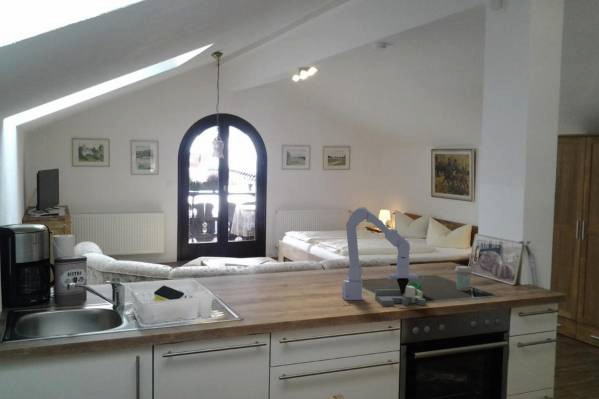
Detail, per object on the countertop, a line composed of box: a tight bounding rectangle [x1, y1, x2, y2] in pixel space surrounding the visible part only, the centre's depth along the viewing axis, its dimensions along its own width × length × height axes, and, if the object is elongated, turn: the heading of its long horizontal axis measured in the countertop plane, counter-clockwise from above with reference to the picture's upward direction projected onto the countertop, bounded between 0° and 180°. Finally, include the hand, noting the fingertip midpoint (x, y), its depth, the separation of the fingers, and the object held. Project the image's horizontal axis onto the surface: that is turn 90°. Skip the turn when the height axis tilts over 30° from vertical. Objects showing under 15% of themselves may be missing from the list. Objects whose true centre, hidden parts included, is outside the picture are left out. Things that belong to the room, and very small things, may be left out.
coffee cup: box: [454, 265, 473, 292], centre depth 294 cm, size 8×9×12 cm
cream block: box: [403, 286, 415, 297], centre depth 267 cm, size 4×4×4 cm
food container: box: [407, 274, 425, 292], centre depth 278 cm, size 12×6×10 cm, turn 101°
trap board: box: [374, 288, 427, 307], centre depth 264 cm, size 21×11×5 cm, turn 98°
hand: (402, 294), depth 266 cm, fingers closed
